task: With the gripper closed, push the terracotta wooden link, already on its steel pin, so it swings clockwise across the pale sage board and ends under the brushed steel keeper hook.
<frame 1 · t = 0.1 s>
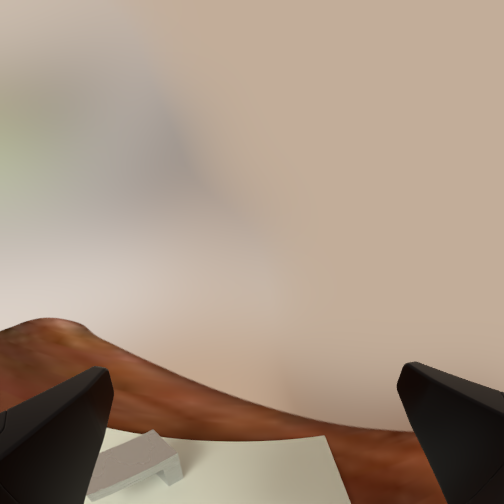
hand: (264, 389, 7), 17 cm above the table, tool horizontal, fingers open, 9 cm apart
keeper: (139, 490, 15), resting on base board
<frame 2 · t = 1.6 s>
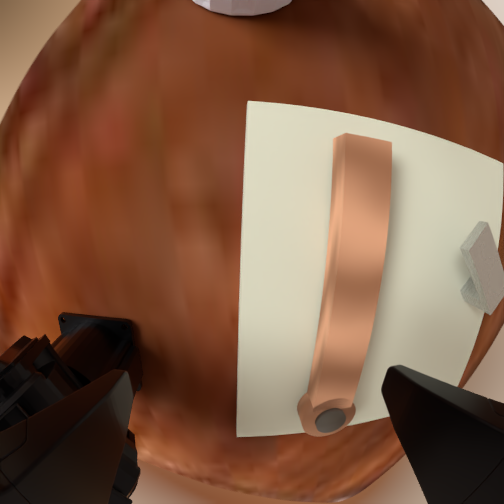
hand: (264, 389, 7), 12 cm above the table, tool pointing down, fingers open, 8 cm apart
base board: (396, 296, 21), on the table
keeper: (455, 260, 21), resting on base board
link: (349, 314, 18), point 3 cm above the table, hinge at 0.0°
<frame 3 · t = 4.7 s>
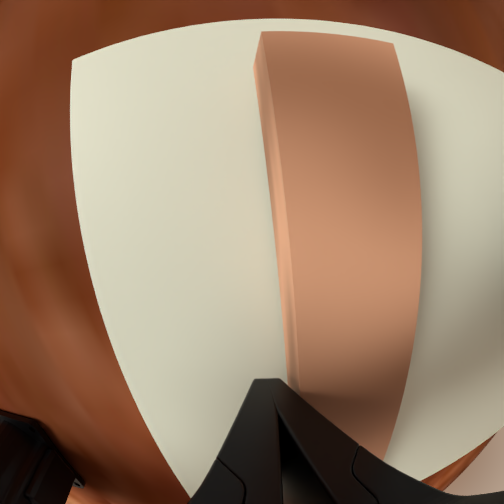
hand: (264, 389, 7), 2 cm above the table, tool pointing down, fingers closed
base board: (431, 349, 10), on the table
link: (343, 428, 8), point 3 cm above the table, hinge at -0.5°, touching gripper
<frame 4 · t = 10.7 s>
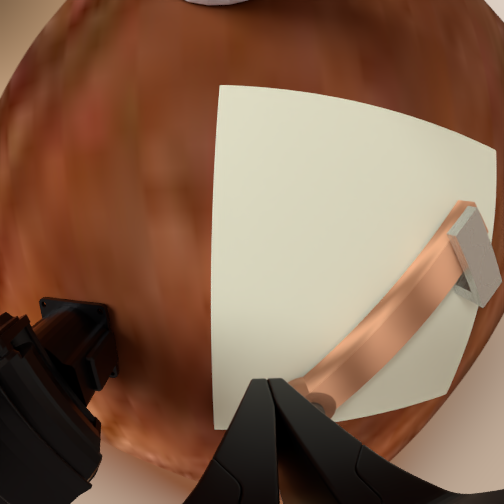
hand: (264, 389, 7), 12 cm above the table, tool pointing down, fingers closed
base board: (380, 285, 20), on the table
keeper: (445, 249, 20), resting on base board
link: (393, 325, 18), point 3 cm above the table, hinge at -40.1°
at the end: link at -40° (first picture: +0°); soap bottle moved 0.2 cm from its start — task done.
